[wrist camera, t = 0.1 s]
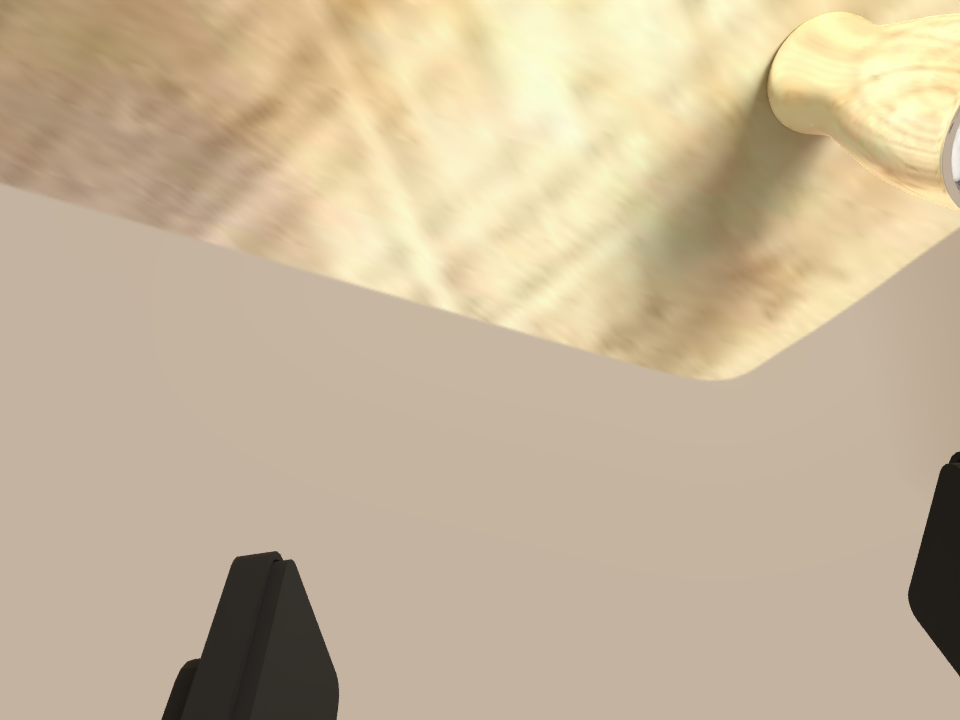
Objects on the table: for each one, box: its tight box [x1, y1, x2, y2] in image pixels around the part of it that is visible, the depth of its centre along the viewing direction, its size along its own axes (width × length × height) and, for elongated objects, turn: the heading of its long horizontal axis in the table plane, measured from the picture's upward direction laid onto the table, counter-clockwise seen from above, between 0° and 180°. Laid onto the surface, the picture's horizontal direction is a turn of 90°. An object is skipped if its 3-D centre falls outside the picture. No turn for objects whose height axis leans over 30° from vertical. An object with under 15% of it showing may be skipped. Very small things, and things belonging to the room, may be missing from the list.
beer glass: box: [767, 12, 960, 211], centre depth 30 cm, size 7×7×15 cm
